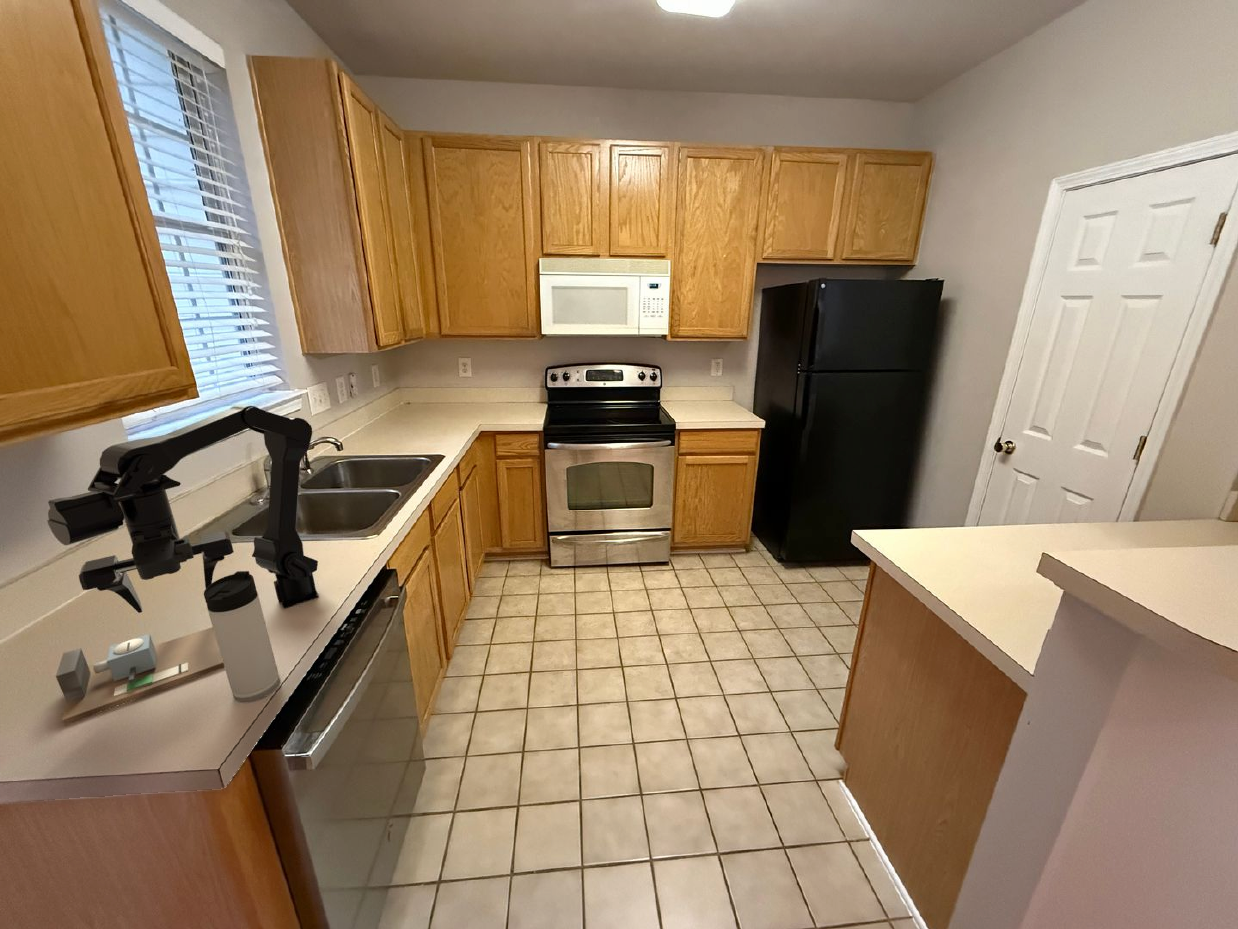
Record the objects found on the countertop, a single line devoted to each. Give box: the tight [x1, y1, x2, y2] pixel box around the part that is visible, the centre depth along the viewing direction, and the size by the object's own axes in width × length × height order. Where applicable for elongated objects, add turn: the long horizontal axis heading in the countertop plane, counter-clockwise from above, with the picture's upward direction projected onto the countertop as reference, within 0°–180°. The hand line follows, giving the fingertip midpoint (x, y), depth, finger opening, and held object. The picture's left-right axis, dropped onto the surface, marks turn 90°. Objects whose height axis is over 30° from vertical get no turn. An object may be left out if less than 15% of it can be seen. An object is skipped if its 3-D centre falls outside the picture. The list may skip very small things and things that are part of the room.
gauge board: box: [55, 626, 225, 726], centre depth 85 cm, size 22×14×6 cm, turn 131°
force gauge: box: [92, 633, 156, 683], centre depth 81 cm, size 7×9×4 cm
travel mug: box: [203, 570, 281, 704], centre depth 78 cm, size 6×7×20 cm
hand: (175, 601), depth 85 cm, fingers open, 9 cm apart
